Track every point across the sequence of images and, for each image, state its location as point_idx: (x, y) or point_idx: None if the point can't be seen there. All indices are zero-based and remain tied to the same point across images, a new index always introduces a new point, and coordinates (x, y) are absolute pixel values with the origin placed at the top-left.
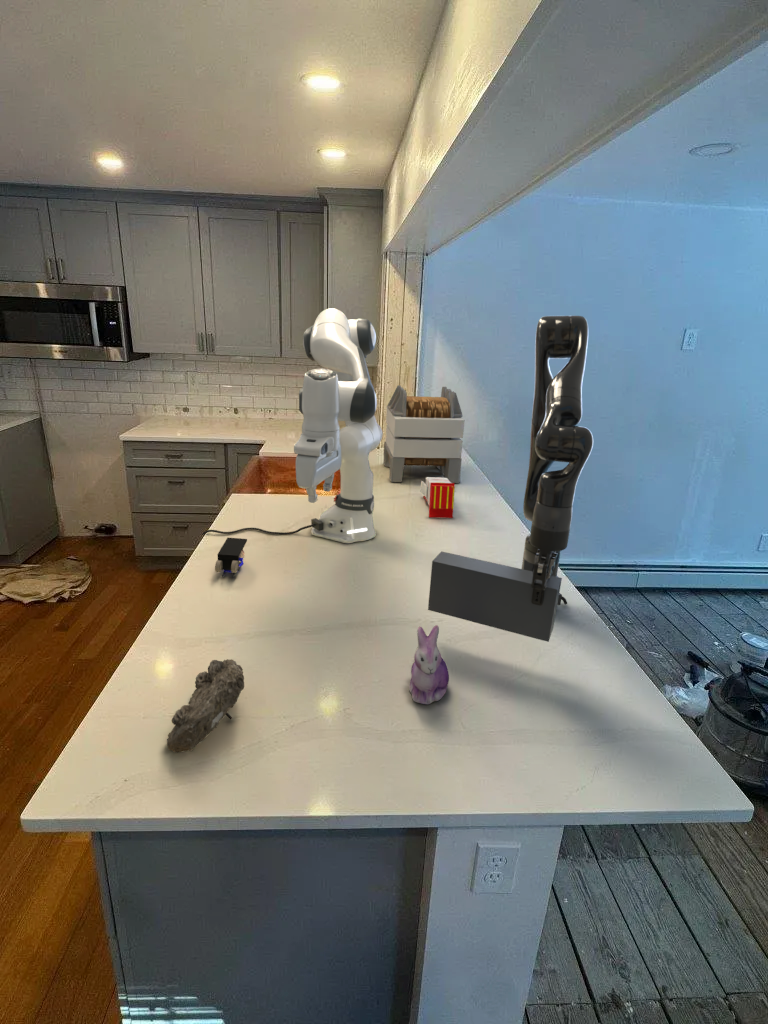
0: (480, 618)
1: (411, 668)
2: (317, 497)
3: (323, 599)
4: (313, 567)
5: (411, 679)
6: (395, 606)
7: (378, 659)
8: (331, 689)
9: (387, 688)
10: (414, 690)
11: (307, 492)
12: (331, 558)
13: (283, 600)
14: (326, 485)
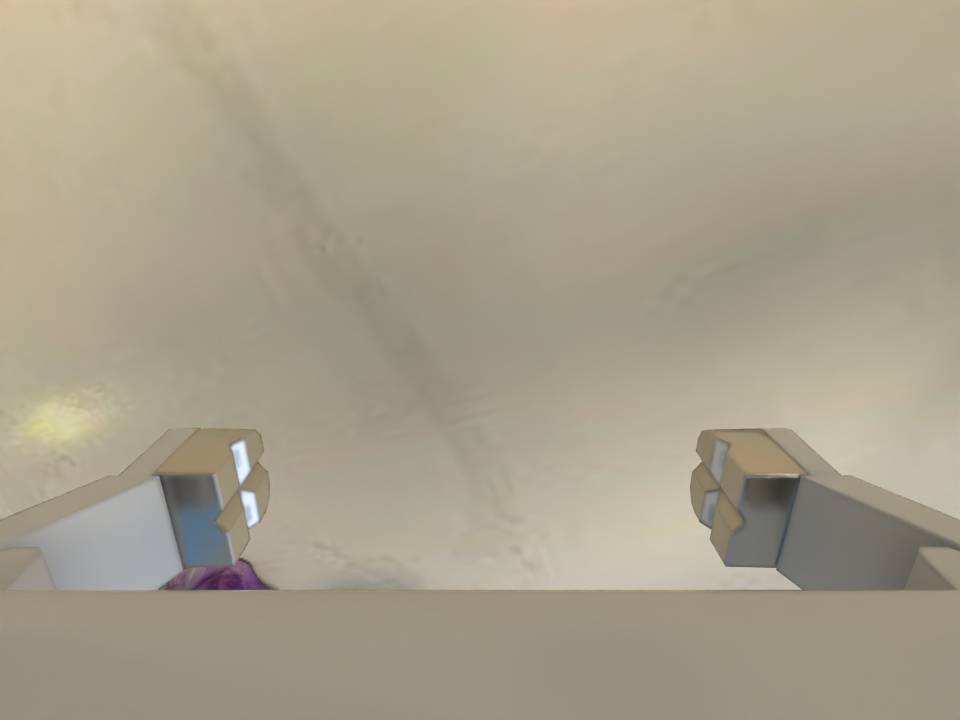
0: None
1: (205, 589)
2: (244, 536)
3: (544, 212)
4: (824, 48)
5: (212, 571)
6: (571, 447)
7: (283, 473)
8: (108, 409)
9: None
10: (167, 589)
11: (40, 511)
12: (937, 96)
13: (486, 55)
14: (738, 508)
